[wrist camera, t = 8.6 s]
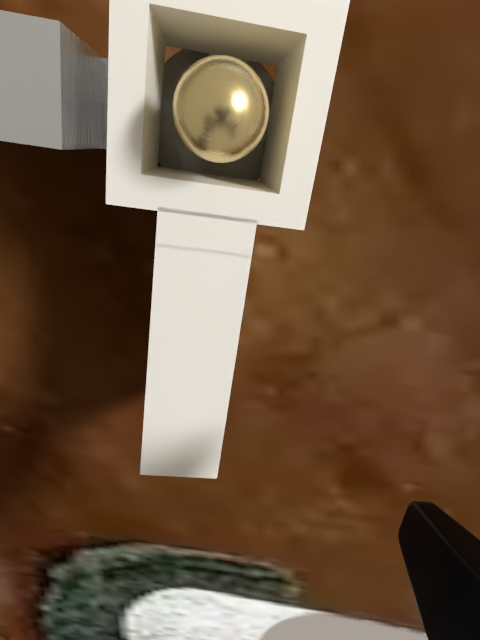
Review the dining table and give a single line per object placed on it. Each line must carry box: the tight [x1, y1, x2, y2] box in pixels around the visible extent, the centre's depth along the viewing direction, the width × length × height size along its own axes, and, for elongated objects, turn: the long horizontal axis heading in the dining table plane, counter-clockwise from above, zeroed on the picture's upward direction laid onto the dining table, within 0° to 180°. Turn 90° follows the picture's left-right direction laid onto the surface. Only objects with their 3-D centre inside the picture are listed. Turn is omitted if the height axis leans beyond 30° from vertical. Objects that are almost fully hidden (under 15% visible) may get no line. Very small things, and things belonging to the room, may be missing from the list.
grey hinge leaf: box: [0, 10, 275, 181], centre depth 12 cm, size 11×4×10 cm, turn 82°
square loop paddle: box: [106, 0, 350, 478], centre depth 15 cm, size 5×13×8 cm, turn 172°
